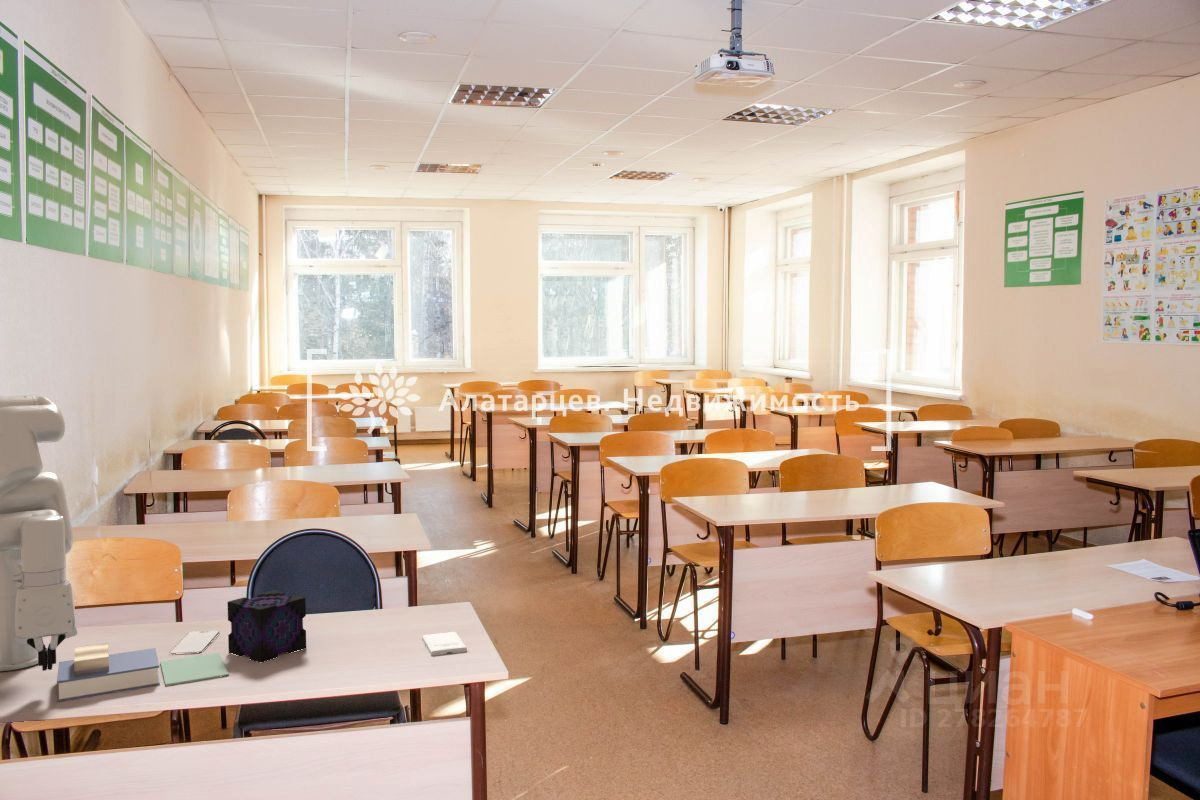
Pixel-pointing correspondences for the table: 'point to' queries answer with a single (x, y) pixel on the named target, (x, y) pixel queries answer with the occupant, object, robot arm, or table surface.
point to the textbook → (110, 675)
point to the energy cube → (266, 625)
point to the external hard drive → (444, 643)
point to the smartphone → (194, 642)
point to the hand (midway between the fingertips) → (47, 668)
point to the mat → (193, 669)
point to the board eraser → (91, 659)
